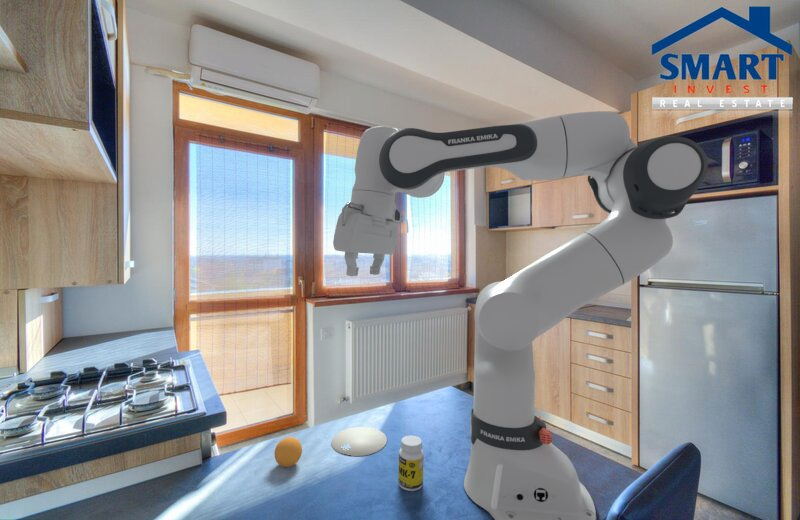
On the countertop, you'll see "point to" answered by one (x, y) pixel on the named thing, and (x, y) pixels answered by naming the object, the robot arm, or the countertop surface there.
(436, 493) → the countertop surface
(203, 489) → the countertop surface
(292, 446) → the ball
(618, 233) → the robot arm
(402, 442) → the supplement bottle
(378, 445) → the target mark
